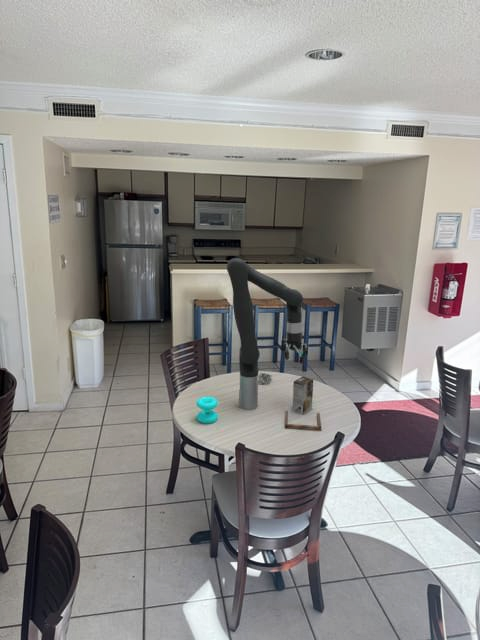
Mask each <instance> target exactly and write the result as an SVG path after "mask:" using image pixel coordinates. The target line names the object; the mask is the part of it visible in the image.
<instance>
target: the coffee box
mask: <svg viewBox="0 0 480 640" xmlns="http://www.w3.org/2000/svg"><path fill="white" fill-rule="evenodd" d="M292 387H293V389H292V391H293V392H292V393H293V394H292V412H294V413H295V414H299V415H301V416H302V415H303V416H304V415H305V414H307V413H308V412H310V410H312V409H313V395H314V394H313V393H314V379H313V378H309V377H307V376H303V375H302V376H300V377H299V378H298V379H296V380H294V381H293V386H292Z"/></svg>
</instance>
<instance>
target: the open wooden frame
mask: <svg viewBox="0 0 480 640" xmlns="http://www.w3.org/2000/svg"><path fill="white" fill-rule="evenodd" d="M284 416H285V419H284V429H285V430H287V429H288V430H301V431H302V430H303V431H315V432H316V431H317V432H321V431H322V422H321V421H322V420H321V414H320V412H316V421H317V422H316V423H317V425H313V424H312V425H311V424H310V425H309V424H296V423H295V424H294V423H289V422H288V421H289V411H288V410H285V415H284Z"/></svg>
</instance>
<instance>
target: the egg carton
mask: <svg viewBox="0 0 480 640" xmlns="http://www.w3.org/2000/svg"><path fill="white" fill-rule="evenodd" d="M272 377H273V375H272V374H269V373H266V372H265V373H264V372H260V373H259V374H258V385H265V386H267V385H270V383H271V380H272Z"/></svg>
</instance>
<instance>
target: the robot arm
mask: <svg viewBox="0 0 480 640" xmlns="http://www.w3.org/2000/svg"><path fill="white" fill-rule="evenodd" d="M226 272H227V274H228V276H229V278H230V282H231V283H230V284H231V287H232V308H233V309H232V310H233V315H234V321H235V325H236V329H237V331H238V334H239V338H240V340H239V341H240V348H239V355H238V357H239V363H238V365H239V390H238V408H239V409H243V410H249V411H251V410H255V409H257V408H258V403H259V402H258V400H259V384H258V376H259V363H258V362H259V358H260V355H261V354H260V351H259V347H258V346H259V345H258V342H257V339H256V328H255V327H256V324H255V315H254V308H253V301H252V297H251V293H250V290H249V283H251V284H253V285H255V286H257V287H258V288H260V289H261V290H263V291H264V292H266V293H268V294H270V295H272V296H274V297H276V298H279V299H281V300H282V301H283V302H285V303H286V304H285V305H286V310H287V311H286V314H287V317H286V338H283V339H282V340H281V344H280V345H281V347H280V350H281V351H282V352H284V359H285V360H286V361H288V360H289V359H290V351H295V352H296V353H298V355H299V364H303V363H304V362H305V357H306V356H308V355H309V351H308V343H303V342H302V341H303V340H302V339H303V323H302V320H303V319H302V318H303V316H302V310H301V305H302V303H303V301H304V297H303V295H302V293H301V292H299V291H298V290H297V289H293V288H290V287H289V286H287V285H285V284H284V283H282V281H281V282H280V281H279V280H277V279H275V278H273V277H271V276H268V275H267V274H264V273H262V272H260V271H258V270H256V269H255V268H254V267H251V265H249V264H247V263H246V262H245V261H244V260H243V259H241V258H239V257H234V258H231V259H230V260H228V262H227V264H226Z"/></svg>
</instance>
